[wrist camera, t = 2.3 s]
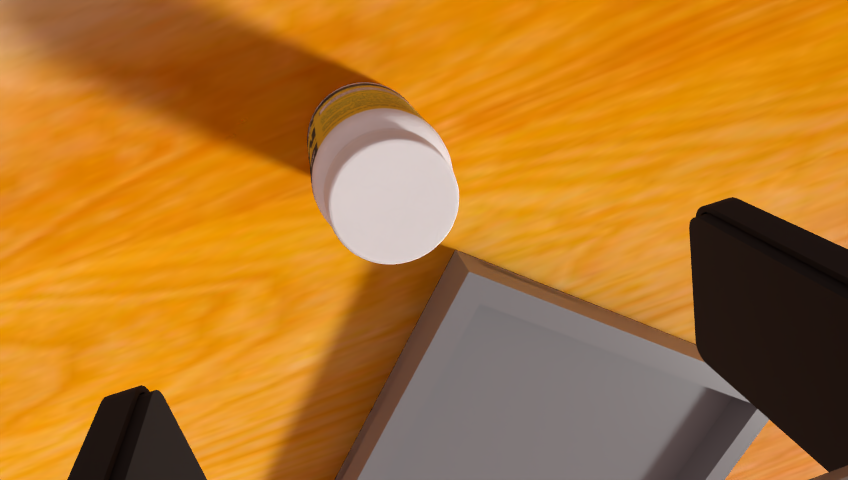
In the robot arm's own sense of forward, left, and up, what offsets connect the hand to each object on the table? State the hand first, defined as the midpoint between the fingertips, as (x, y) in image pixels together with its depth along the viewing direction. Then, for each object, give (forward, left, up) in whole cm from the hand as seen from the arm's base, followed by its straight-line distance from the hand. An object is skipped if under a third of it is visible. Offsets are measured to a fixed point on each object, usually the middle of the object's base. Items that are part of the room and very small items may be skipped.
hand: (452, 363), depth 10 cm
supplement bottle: (0, 0, -17) cm, 17 cm away
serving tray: (+13, +16, -17) cm, 27 cm away
